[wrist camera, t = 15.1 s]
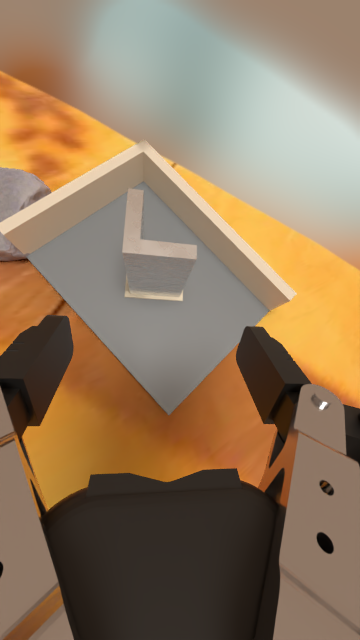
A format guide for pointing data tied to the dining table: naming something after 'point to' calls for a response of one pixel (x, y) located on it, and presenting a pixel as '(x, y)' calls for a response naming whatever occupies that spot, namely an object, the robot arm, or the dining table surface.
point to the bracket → (153, 256)
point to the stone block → (17, 203)
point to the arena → (111, 279)
